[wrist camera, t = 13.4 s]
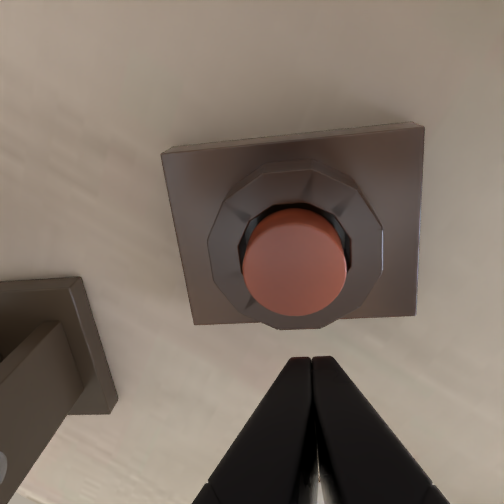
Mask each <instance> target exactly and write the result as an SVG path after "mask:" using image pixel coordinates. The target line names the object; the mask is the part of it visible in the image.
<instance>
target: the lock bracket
mask: <svg viewBox="0 0 504 504" xmlns="http://www.w3.org/2000/svg"><path fill="white" fill-rule="evenodd" d="M117 401H118V397H117V394H116V390H115V387H114V384H113V381H112V377H111V374H110V371H109V368H108V364H107V361H106V358H105V355H104V351H103V348H102V345H101V342H100V338H99V335H98V332H97V328H96V325H95V322H94V319H93V315H92V312H91V309H90V306H89V302H88V299H87V296H86V293H85V289H84V286H83V283H82V280H81V277H73V278H57V279H40V280H24V281H8V282H0V504H7V503H8V502H9V500H10V499H11V497H12V496H13V495H14V493H15V492H16V490H17V489H18V487H19V486H20V484H21V483H22V481H23V480H24V478H25V477H26V475H27V474H28V472H29V471H30V469H31V468H32V466H33V465H34V463H35V462H36V460H37V459H38V458H39V456H40V455H41V453H42V452H43V450H44V449H45V447H46V446H47V444H48V443H49V441H50V440H51V438H52V437H53V435H54V434H55V432H56V431H57V429H58V428H59V426H60V425H61V423H62V422H63V420H64V419H65V417H66V416H67V415H101V414H111V412H112V410H113V408H114V406H115V404H116V403H117Z"/></svg>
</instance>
